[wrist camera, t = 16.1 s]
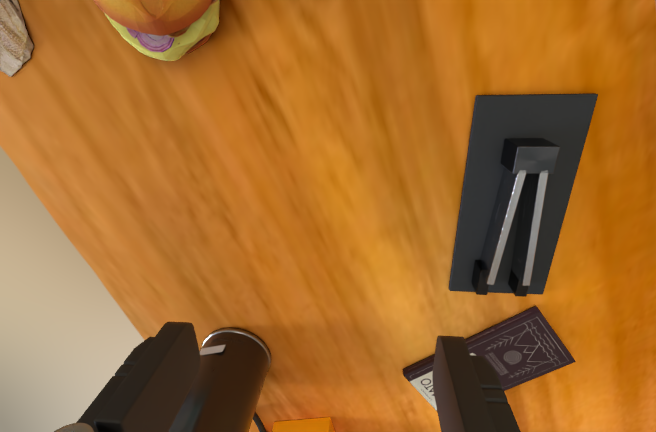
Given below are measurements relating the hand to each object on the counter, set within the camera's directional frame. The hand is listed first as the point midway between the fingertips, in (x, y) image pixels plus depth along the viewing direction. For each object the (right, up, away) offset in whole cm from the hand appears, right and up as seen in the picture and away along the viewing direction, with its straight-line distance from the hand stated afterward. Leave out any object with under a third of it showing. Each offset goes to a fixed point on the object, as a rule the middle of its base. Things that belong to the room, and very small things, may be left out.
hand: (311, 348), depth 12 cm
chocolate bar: (+20, -14, +33) cm, 41 cm away
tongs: (+19, +4, +24) cm, 31 cm away
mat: (+19, +6, +24) cm, 31 cm away
